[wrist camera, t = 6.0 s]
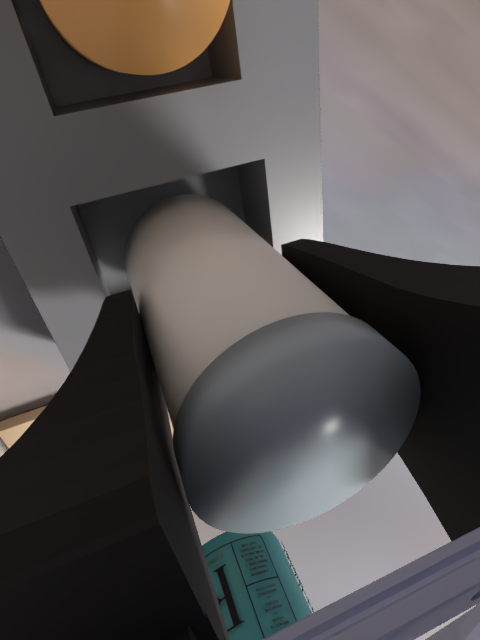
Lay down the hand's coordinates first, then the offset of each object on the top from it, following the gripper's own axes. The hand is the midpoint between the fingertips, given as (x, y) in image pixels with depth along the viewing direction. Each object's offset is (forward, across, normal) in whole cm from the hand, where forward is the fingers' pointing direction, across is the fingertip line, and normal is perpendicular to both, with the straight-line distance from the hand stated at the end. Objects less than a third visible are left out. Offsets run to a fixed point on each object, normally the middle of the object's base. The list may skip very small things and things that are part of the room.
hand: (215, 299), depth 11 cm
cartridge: (+3, 0, 0) cm, 3 cm away
